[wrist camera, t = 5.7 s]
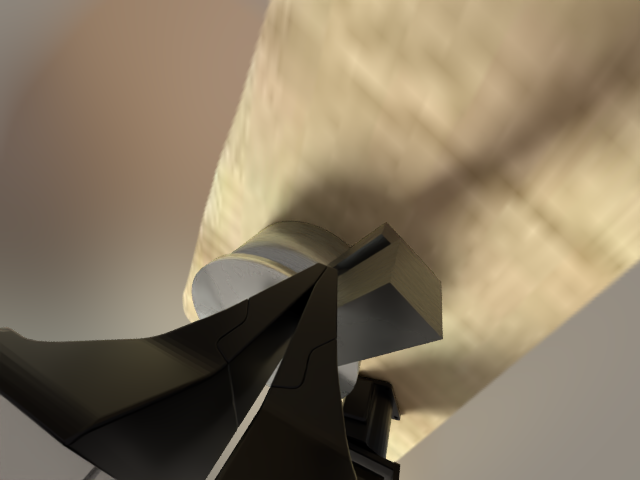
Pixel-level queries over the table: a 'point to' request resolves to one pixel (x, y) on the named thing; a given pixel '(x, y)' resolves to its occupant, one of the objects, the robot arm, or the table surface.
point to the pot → (314, 246)
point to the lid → (343, 302)
